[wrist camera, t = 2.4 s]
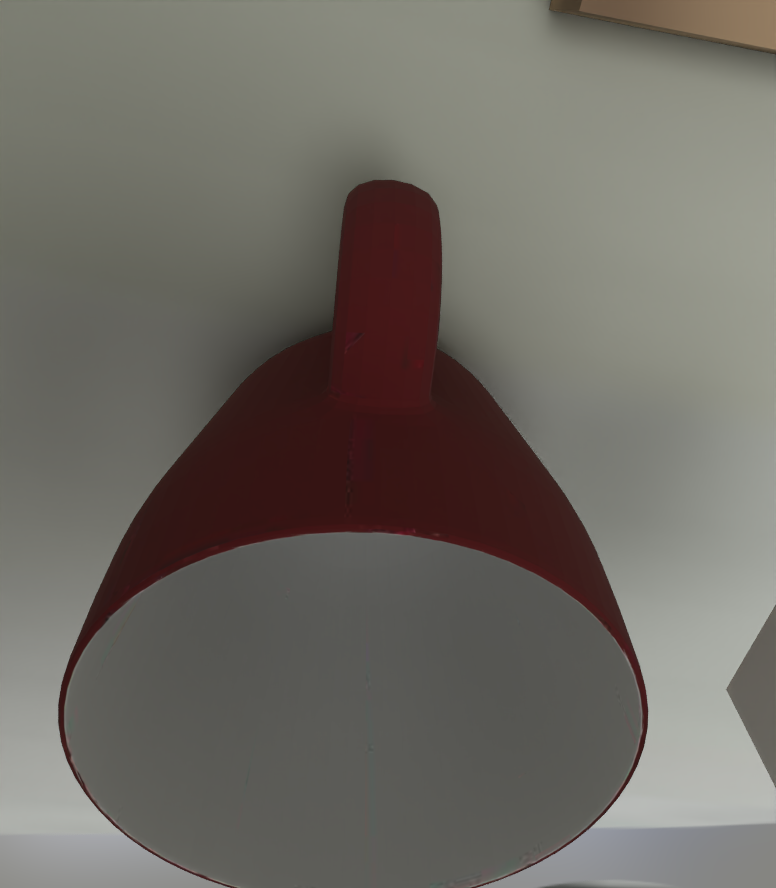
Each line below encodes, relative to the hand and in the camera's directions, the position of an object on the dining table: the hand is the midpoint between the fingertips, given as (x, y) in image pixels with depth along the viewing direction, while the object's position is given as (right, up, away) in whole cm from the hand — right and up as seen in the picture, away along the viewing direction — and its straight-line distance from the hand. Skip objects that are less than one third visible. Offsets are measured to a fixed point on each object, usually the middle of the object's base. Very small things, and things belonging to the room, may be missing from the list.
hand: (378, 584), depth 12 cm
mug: (-1, +4, +6) cm, 8 cm away
